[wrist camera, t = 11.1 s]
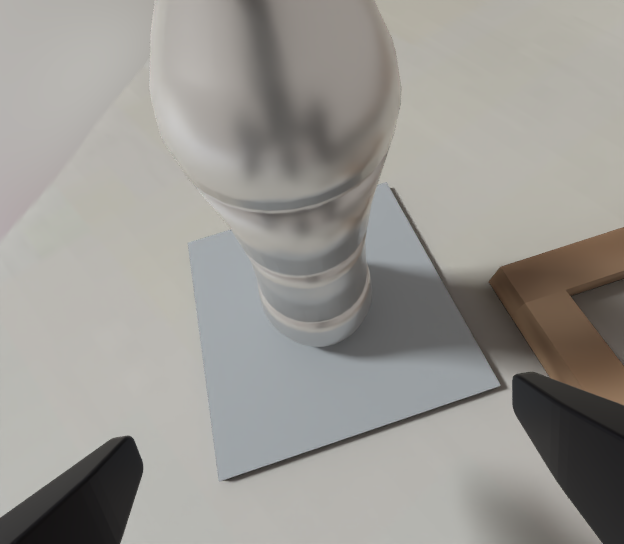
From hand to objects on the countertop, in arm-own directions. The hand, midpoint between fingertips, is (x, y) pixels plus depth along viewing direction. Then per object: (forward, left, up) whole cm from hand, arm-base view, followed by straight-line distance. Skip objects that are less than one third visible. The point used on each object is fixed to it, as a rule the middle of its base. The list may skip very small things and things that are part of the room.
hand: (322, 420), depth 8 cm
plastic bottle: (+8, -1, -12) cm, 14 cm away
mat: (+8, -1, -12) cm, 15 cm away
